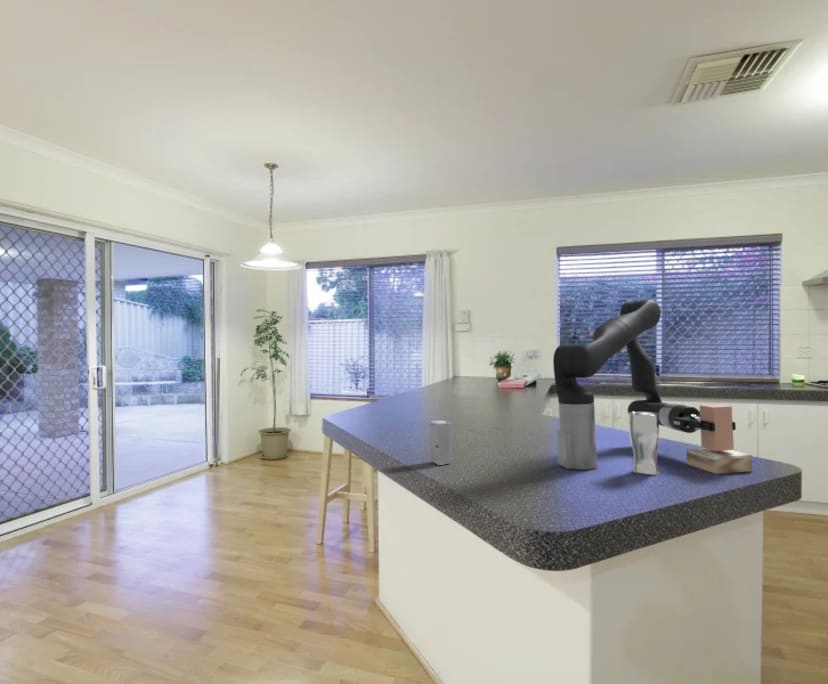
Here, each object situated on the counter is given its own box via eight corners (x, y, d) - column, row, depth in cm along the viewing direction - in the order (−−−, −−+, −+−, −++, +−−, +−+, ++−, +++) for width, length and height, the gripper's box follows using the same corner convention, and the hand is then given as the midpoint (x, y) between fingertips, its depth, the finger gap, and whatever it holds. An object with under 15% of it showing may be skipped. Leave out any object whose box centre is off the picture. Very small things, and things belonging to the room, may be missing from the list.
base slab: (715, 473, 116) (714, 457, 116) (687, 464, 125) (686, 449, 126) (752, 471, 117) (751, 454, 117) (721, 462, 126) (721, 447, 127)
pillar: (715, 450, 119) (713, 407, 119) (701, 447, 123) (699, 405, 124) (733, 449, 119) (731, 406, 119) (719, 445, 124) (717, 404, 124)
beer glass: (660, 470, 121) (657, 411, 121) (661, 476, 114) (659, 415, 115) (630, 468, 124) (628, 411, 124) (630, 474, 117) (627, 414, 118)
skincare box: (429, 462, 139) (427, 421, 139) (442, 460, 140) (441, 419, 141) (438, 466, 133) (436, 423, 133) (452, 464, 135) (450, 422, 135)
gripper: (655, 405, 135) (697, 413, 118) (701, 403, 136) (749, 410, 120) (656, 431, 135) (698, 443, 118) (703, 429, 136) (751, 439, 119)
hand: (724, 426), depth 119 cm, fingers closed on pillar, 5 cm apart
